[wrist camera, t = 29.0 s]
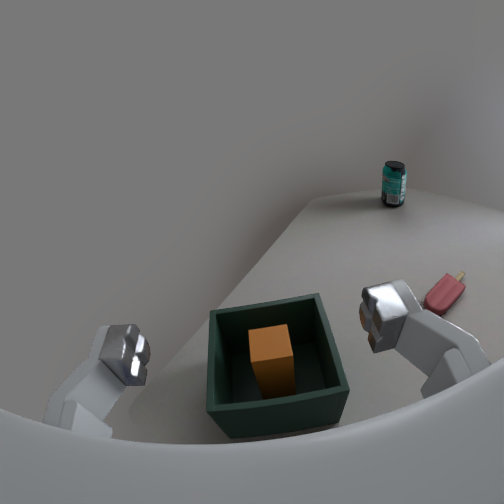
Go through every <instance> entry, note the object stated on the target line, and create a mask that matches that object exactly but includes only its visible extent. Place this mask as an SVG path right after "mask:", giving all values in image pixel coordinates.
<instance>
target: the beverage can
mask: <svg viewBox="0 0 504 504" xmlns="http://www.w3.org/2000/svg"><path fill="white" fill-rule="evenodd" d="M406 173H407V172H406V169H405V165H404V164H403V163H401V162H397V161H387V162H386V163H385V166H384V167H383V179H382V197H381V199H382V201H383V203H384V204H386V205H387V206H390V207H399V206H401V205H402V204H403V203H404V197H405V186H406Z"/></svg>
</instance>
